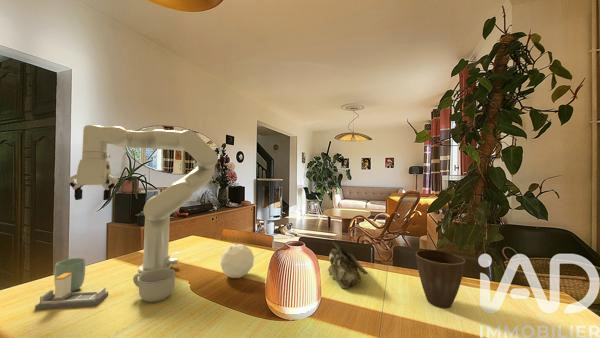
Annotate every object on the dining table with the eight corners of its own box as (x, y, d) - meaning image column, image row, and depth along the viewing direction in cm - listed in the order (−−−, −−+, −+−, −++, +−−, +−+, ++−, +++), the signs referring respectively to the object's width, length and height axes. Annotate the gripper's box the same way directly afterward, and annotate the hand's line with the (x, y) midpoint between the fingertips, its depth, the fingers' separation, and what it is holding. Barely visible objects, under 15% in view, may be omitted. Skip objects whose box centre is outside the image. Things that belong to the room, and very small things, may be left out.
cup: (65, 297, 83) (67, 266, 84) (47, 294, 85) (49, 264, 85) (89, 287, 91) (91, 259, 91) (72, 284, 92) (73, 257, 93)
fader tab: (72, 294, 82) (73, 272, 82) (63, 300, 78) (64, 277, 78) (61, 295, 82) (62, 273, 82) (52, 301, 78) (53, 278, 78)
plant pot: (446, 319, 77) (447, 266, 77) (405, 297, 90) (406, 252, 91) (474, 308, 84) (474, 260, 84) (432, 289, 97) (433, 248, 98)
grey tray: (108, 295, 86) (108, 285, 86) (96, 305, 79) (96, 295, 79) (52, 298, 82) (53, 288, 82) (34, 309, 75) (35, 299, 76)
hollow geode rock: (336, 274, 121) (315, 250, 122) (356, 256, 122) (335, 232, 123) (346, 302, 93) (319, 271, 94) (372, 278, 94) (344, 248, 94)
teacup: (181, 293, 88) (182, 270, 88) (154, 309, 78) (155, 283, 78) (151, 286, 93) (152, 264, 93) (122, 300, 82) (123, 275, 82)
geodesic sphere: (235, 274, 92) (249, 238, 100) (206, 267, 97) (221, 234, 105) (252, 285, 103) (263, 253, 111) (224, 279, 108) (237, 248, 116)
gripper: (123, 158, 106) (121, 198, 106) (75, 156, 102) (73, 198, 102) (114, 157, 99) (112, 200, 98) (62, 155, 95) (60, 200, 95)
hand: (92, 199), depth 100 cm, fingers open, 9 cm apart
